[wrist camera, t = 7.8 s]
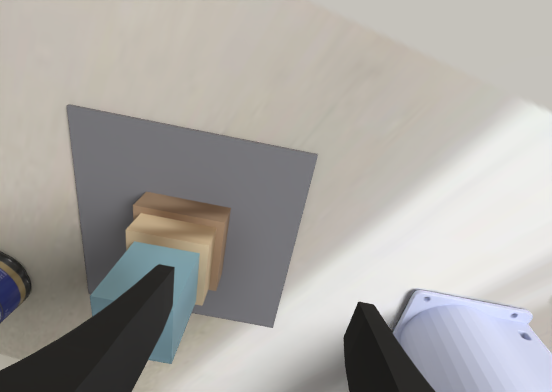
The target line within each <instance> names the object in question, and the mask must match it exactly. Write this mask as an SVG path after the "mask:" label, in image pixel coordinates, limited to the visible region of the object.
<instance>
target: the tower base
mask: <svg viewBox="0 0 552 392" xmlns="http://www.w3.org/2000/svg"><path fill="white" fill-rule="evenodd" d="M230 212H231V208H229V207H223V206H218V205H213V204H208V203H203V202H198V201H192V200H187V199H182V198H177V197H172V196H167V195H162V194H156V193H151V192H146V193H145V194H144V195H143V196H142V197H141V198H140V199H139V200H138V201H137V202H136V203H135V204H134V205H133V221H134V220H135V219H136V218H137V217H138V216H139V215H140V213H143V214H148V215H153V216H158V217H163V218H169V219H174V220H179V221H184V222H189V223H195V224H200V225H205V226H210V227H215V228H217V229H216V238H215V246H214V255H213V263H212V271H211V280H210V286H209V289H208V290H212V291H216V290H217V287H218V284H219V281H220V278H221V275H222V269H223V262H224V255H225V248H226V240H227V233H228V226H229V219H230Z"/></svg>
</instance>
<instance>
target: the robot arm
mask: <svg viewBox="0 0 552 392" xmlns="http://www.w3.org/2000/svg"><path fill="white" fill-rule="evenodd" d="M174 272H175V267H172V266H167V265H161V264H158V265H157V266H155V267H154V268H153V269H152V270H151V271H150V272H148V273H147V274H146V275H145V276H144V277H143V278H142V279H140V280H139V281H138V282H137V283H136V284H134V285H133V286H132V287H131V288H130V289H128V290H127V291H126V292H125V293H123V294H122V295H121V296H120V297H118V298H117V299H116V300H114V301H113V302H112V303H111V304H109V305H108V306H107V307H105V308H104V309H102V310H101V311H100V312H98V313H97V314H95V315H94V316H93V317H91V318H90V319H88V320H87V321H86V322H84V323H83V324H81V325H80V326H78V327H77V328H75V329H74V330H72V331H70V332H69V333H67V334H66V335H64V336H62V337H61V338H59V339H58V340H56V341H54V342H52V343H51V344H49V345H47V346H45V347H44V348H42V349H40V350H39V351H37V352H35V353H33V354H31V355H30V356H28V357H26V358H24V359H22V360H20V361H18V362H17V363H15V364H13V365H11V366H8V367H6V368H5V369H2V370H1V371H0V392H132V390H133V388H134V386H135V384H136V382H137V380H138V378H139V376H140V375H141V373H142V371H143V369H144V367H145V365H146V363H147V361H148V359H149V357H150V355H151V353H152V352H153V350H154V348H155V346H156V344H157V342H158V340H159V338H160V336H161V334H162V332H163V330H164V327H165V325H166V322H167V320H168V317H169V315H170V312H171V309H172V307H173V292H174ZM425 297H427V298H425ZM532 318H533V315H532V314H531V313H530V311H528V310H524V309H518V308H513V307H508V306H503V305H497V304H492V303H487V302H482V301H476V300H471V299H466V298H461V297H455V296H450V295H445V294H440V293H434V292H429V291H424V290H417V291H415V292H414V293H413V295H412V297H411V298H410V300H409V302H408V304H407V306H406V308H405V310H404V312H403V314H402V316H401V318H400V320H399V322H398V324H397V325H396V327H395V329H394V331H393V333H392V332H391V330H390V328H389V327H388V325H387V324H386V322H385V321H384V319H383V318H382V316H381V315H380V313H379V312H378V310H377V309H376V307H375V306H374V305H373V304H368V303H363V302H358V304H357V306H356V309H355V311H354V314H353V316H352V318H351V321H350V323H349V326H348V328H347V330H346V333H345V335H344V357H345V368H346V374H347V380H348V386H349V392H552V354H551V352H550V351H549V350H548V349H547V347H546V346H545V345H544V344H543V342H542V341H541V340H540V339H539V338H538V336H537V335H536V334H535V333H534V331H533V330H532V329H531V328H530V326H529V325H528V323H529V322H530V321H531V320H532Z"/></svg>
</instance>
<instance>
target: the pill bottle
mask: <svg viewBox="0 0 552 392" xmlns="http://www.w3.org/2000/svg"><path fill="white" fill-rule="evenodd" d="M30 289H31V283H30V279H29V277H28V276H27V274H26V272H25V270H24V269H23V267H22V266H21V265H20V264H19V263H18V262H17V261H15V260H14V259H13V258H12V257H10V256H7V255H5V254H4V253H2V252H0V323H1V322H2V321H3V320H4V319H5V318H6V317H7V316H8V315H9V314H10V313H12V312H13V311H14V310H15V309H16V308H17V307H18V306H19V305H20V304H21V303H22V302H23V301H24V300H25V299H26V298H27V297H28V295H29V293H30Z"/></svg>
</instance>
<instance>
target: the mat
mask: <svg viewBox="0 0 552 392" xmlns="http://www.w3.org/2000/svg"><path fill="white" fill-rule="evenodd" d="M67 113H68V121H69V130H70V138H71V147H72V155H73V164H74V172H75V181H76V189H77V198H78V206H79V215H80V223H81V232H82V240H83V249H84V257H85V266H86V274H87V283H88V291H89V294H92V293H93V291H94V290H95V289H96V288H97V287H98V285H99V284H100V283H101V282H102V280H103V279H104V278H105V277H106V276H107V274H108V273H109V272H110V271H111V269H112V268H113V267H114V266H115V264H116V263H117V262H118V261H119V260H120V258H121V257H122V256H123V255H124V253H125V252H126V229H127V228H128V227H129V226H130V224H131V223H132V222H133V205H134V204H135V203H136V202H137V201H138V200H139V199H140V198H141V197H142V196H143V195H144V194H145V193H146V192H151V193H156V194H162V195H167V196H172V197H177V198H182V199H187V200H192V201H198V202H203V203H208V204H213V205H218V206H223V207H229V208H231V212H230V219H229V226H228V233H227V240H226V248H225V255H224V262H223V269H222V275H221V278H220V281H219V284H218V287H217V290H216V291H212V290H208V292H207V294H206V297H205V300H204V303H203V305H202V306H201V305H194V308H193V310H192V313H195V314H201V315H206V316H212V317H217V318H222V319H228V320H233V321H239V322H244V323H249V324H255V325H260V326H266V327H271V328H273V325H274V321H275V317H276V313H277V310H278V306H279V302H280V298H281V294H282V290H283V287H284V283H285V279H286V275H287V271H288V268H289V264H290V260H291V256H292V252H293V248H294V245H295V241H296V237H297V233H298V229H299V225H300V222H301V218H302V214H303V210H304V206H305V202H306V199H307V195H308V191H309V187H310V183H311V179H312V176H313V172H314V168H315V164H316V160H317V156H318V155H317V154H314V153H309V152H304V151H299V150H294V149H289V148H284V147H279V146H274V145H269V144H264V143H259V142H254V141H249V140H244V139H239V138H234V137H229V136H224V135H219V134H214V133H209V132H204V131H199V130H194V129H189V128H184V127H179V126H174V125H169V124H164V123H159V122H155V121H150V120H145V119H140V118H135V117H130V116H125V115H120V114H115V113H110V112H105V111H100V110H95V109H90V108H85V107H80V106H75V105H67Z"/></svg>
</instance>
